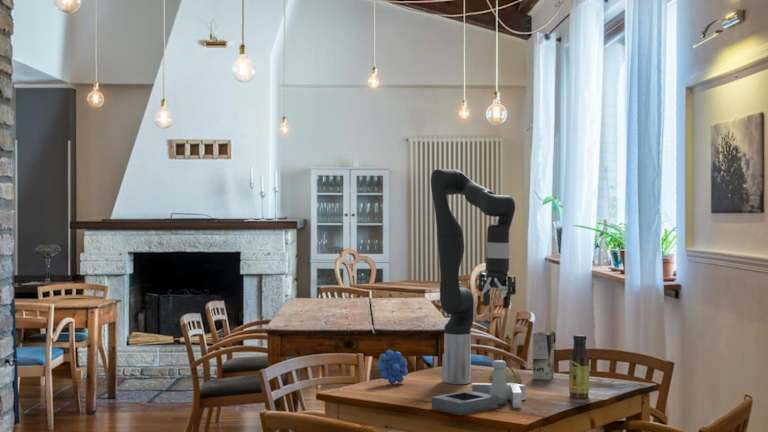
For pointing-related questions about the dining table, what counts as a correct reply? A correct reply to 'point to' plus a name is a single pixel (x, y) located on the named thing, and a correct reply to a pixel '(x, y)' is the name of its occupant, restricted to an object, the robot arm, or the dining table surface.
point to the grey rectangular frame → (464, 402)
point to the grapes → (392, 366)
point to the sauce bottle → (579, 368)
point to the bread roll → (510, 375)
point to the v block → (514, 392)
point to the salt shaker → (499, 382)
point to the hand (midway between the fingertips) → (496, 306)
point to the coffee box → (543, 355)
